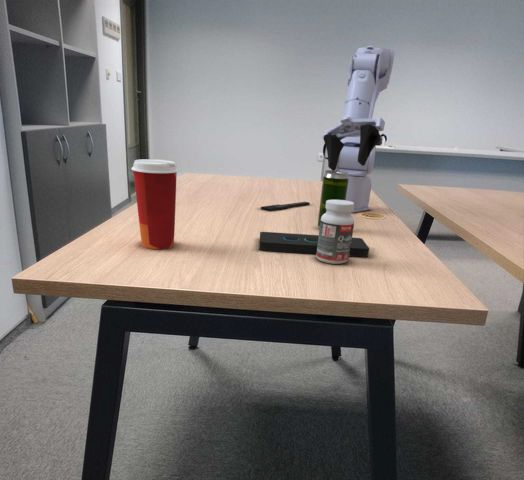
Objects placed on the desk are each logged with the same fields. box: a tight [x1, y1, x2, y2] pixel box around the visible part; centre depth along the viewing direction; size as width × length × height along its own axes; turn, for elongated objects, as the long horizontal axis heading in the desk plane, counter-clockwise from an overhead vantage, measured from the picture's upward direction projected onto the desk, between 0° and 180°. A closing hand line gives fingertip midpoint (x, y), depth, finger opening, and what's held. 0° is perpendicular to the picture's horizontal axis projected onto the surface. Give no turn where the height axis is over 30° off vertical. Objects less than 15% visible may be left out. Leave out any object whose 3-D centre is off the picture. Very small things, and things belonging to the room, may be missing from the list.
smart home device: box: [258, 231, 370, 258], centre depth 89 cm, size 8×2×20 cm
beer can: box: [317, 169, 349, 230], centre depth 102 cm, size 5×5×12 cm
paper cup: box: [131, 158, 179, 250], centre depth 81 cm, size 8×8×14 cm
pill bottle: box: [315, 200, 355, 265], centre depth 81 cm, size 6×6×10 cm
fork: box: [260, 201, 310, 212], centre depth 124 cm, size 17×3×1 cm, turn 136°
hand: (346, 166), depth 105 cm, fingers open, 7 cm apart
